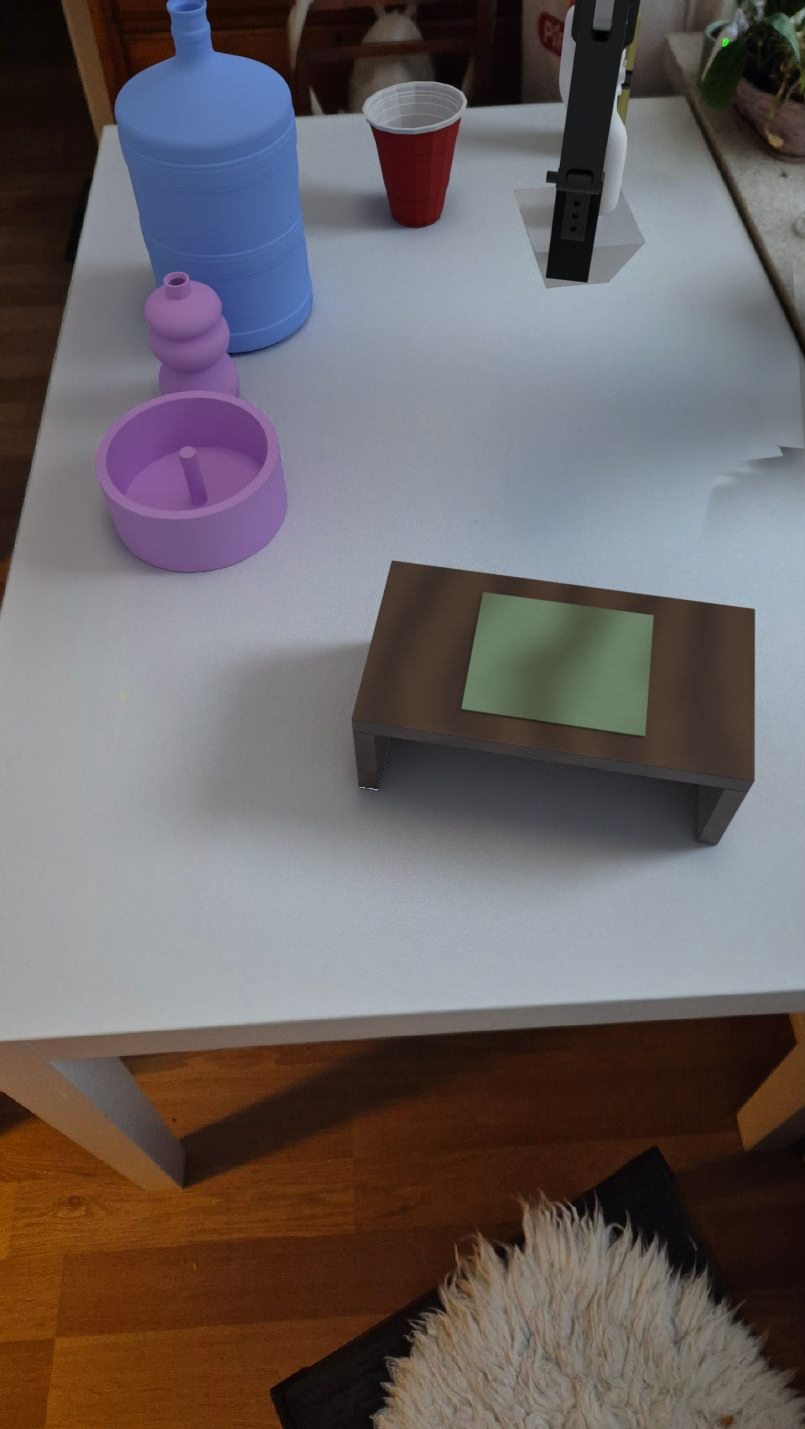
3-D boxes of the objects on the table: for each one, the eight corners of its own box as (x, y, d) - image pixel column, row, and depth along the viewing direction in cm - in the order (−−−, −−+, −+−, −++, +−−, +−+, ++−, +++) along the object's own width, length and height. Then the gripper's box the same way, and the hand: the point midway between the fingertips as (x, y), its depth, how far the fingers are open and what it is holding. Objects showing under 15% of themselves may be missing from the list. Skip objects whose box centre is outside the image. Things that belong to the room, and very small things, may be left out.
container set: (289, 564, 86) (269, 447, 75) (109, 578, 85) (62, 462, 74) (282, 372, 99) (265, 248, 88) (127, 382, 99) (89, 259, 88)
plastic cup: (415, 174, 118) (414, 63, 108) (483, 211, 113) (489, 99, 103) (347, 213, 114) (339, 101, 104) (414, 253, 109) (414, 141, 99)
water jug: (274, 372, 99) (229, 65, 76) (135, 336, 102) (50, 31, 79) (338, 281, 107) (315, -23, 83) (206, 250, 110) (149, -51, 87)
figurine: (532, 313, 67) (559, 69, 54) (505, 232, 72) (524, -9, 59) (639, 303, 67) (690, 58, 55) (605, 223, 72) (644, -19, 60)
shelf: (721, 684, 79) (756, 606, 71) (717, 845, 71) (756, 779, 63) (394, 637, 82) (391, 558, 73) (358, 788, 74) (350, 718, 66)
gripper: (585, -281, 54) (541, 142, 73) (530, -125, 43) (494, 328, 62) (726, -274, 54) (644, 153, 73) (708, -113, 42) (617, 343, 61)
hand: (575, 233), depth 67 cm, fingers closed on figurine, 9 cm apart
